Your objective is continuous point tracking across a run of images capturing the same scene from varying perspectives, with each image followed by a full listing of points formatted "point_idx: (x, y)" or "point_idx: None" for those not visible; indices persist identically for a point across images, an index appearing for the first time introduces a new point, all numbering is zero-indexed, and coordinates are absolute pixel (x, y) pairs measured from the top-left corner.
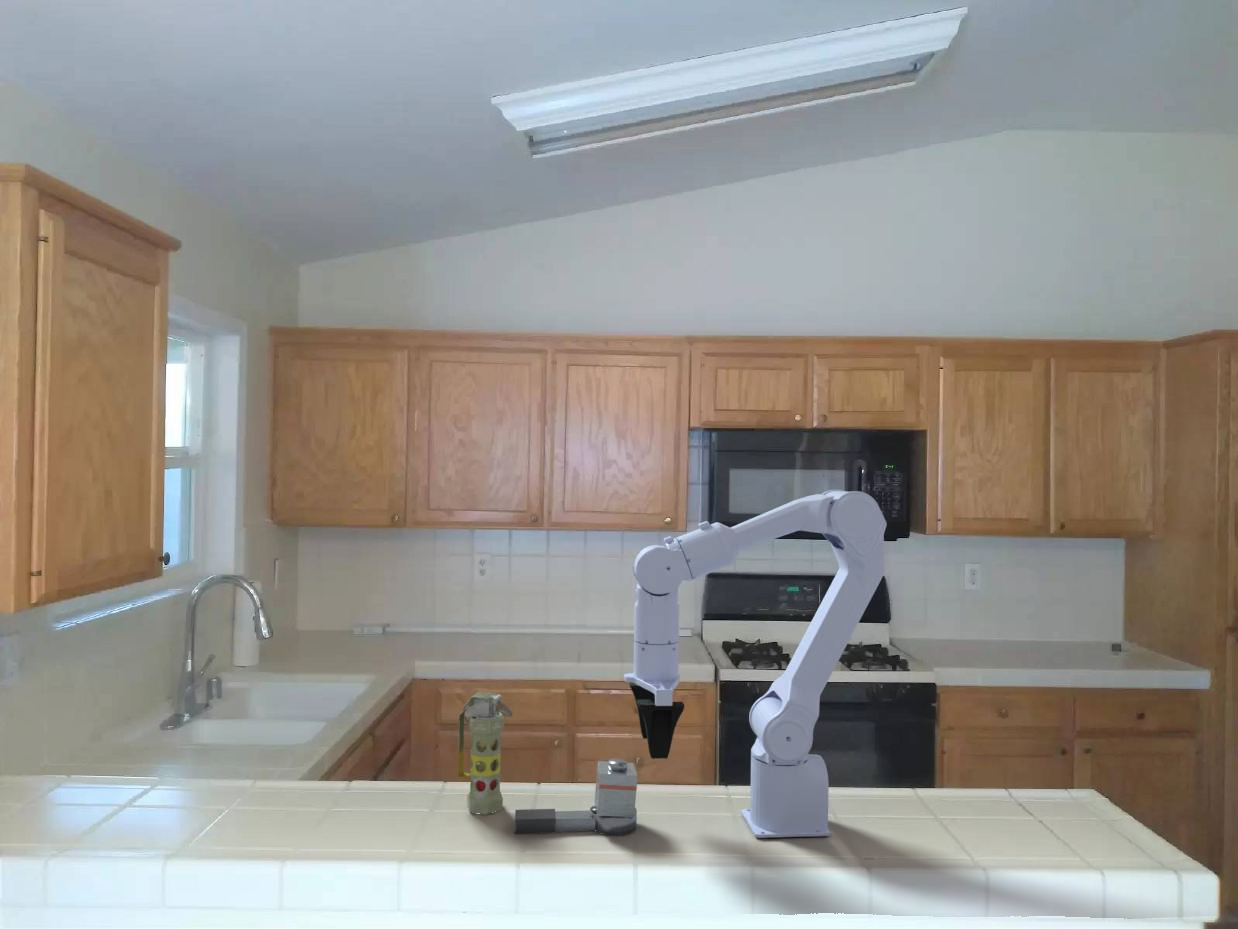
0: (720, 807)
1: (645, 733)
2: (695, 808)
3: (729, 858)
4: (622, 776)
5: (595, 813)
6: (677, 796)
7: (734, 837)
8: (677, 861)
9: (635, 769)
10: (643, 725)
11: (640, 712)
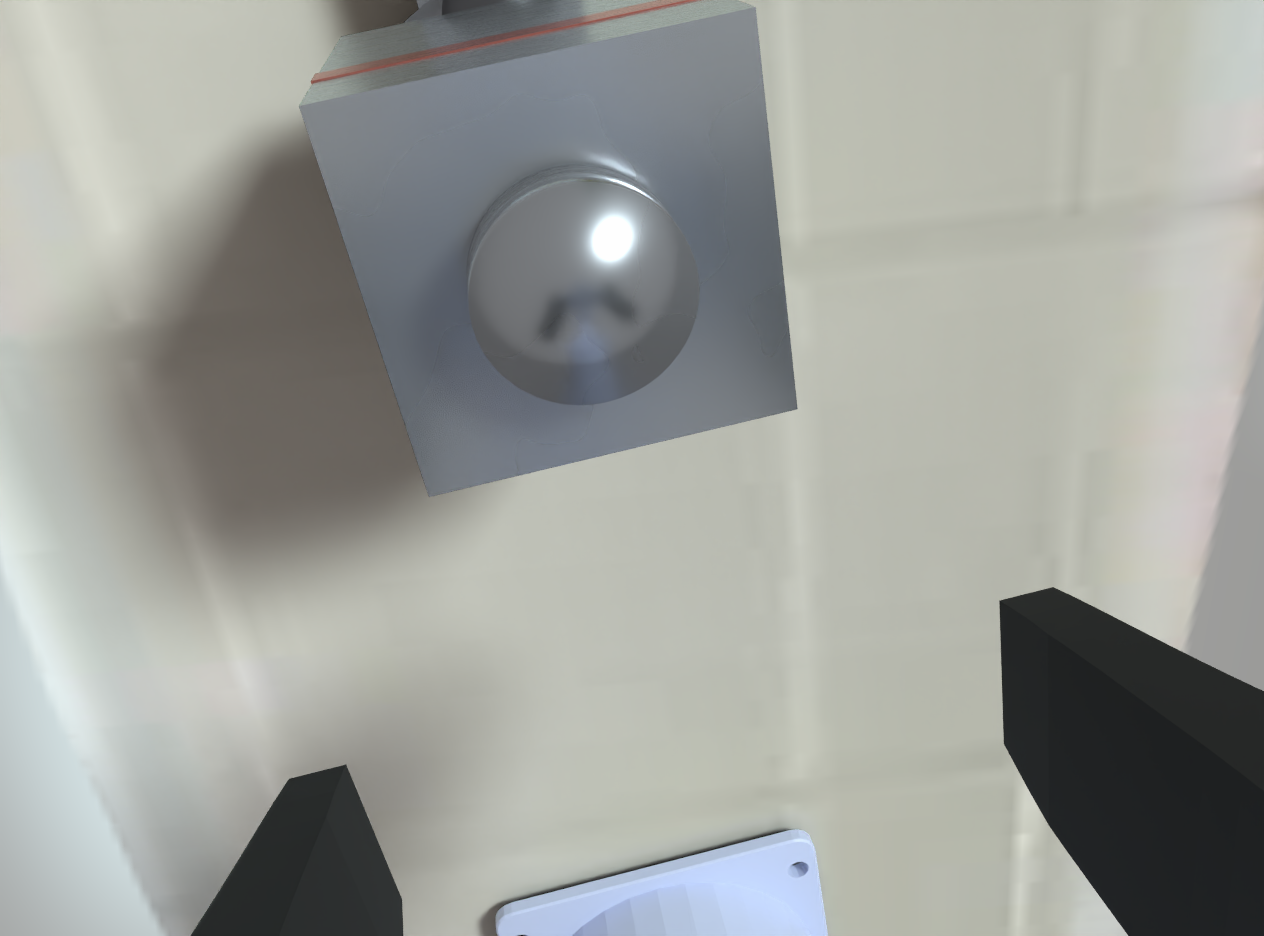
0: (887, 727)
1: (1030, 660)
2: (870, 612)
3: (238, 815)
4: (385, 349)
5: (441, 7)
6: (1051, 502)
7: (504, 815)
8: (107, 590)
9: (602, 455)
10: (1098, 700)
11: (1241, 794)
